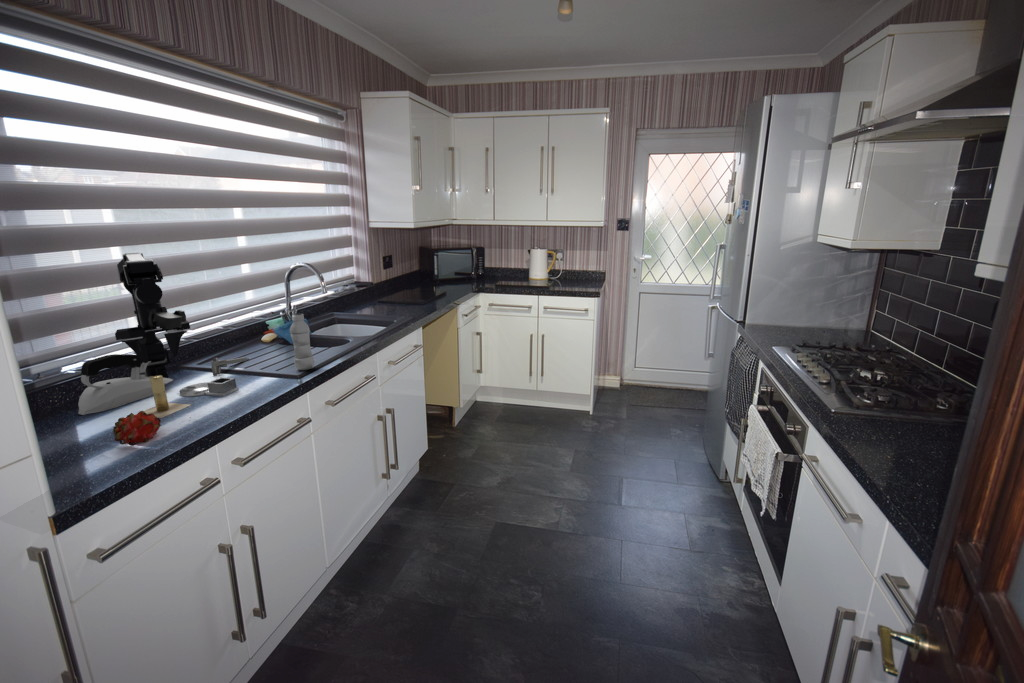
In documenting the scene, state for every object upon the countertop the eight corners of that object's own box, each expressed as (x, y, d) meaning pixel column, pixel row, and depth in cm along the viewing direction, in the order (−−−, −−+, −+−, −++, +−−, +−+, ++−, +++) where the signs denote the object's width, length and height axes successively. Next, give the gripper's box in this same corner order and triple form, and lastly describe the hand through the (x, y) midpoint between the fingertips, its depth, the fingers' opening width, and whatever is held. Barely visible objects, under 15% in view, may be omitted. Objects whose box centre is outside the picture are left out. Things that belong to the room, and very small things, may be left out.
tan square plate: (133, 417, 146) (133, 415, 146) (165, 404, 155) (164, 402, 155) (161, 419, 143) (161, 417, 143) (191, 406, 153) (191, 404, 152)
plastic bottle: (309, 372, 182) (301, 316, 176) (291, 372, 183) (283, 316, 178) (318, 367, 188) (311, 312, 183) (301, 366, 189) (294, 312, 184)
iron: (175, 390, 168) (166, 345, 164) (93, 418, 146) (80, 368, 142) (153, 387, 172) (144, 343, 168) (70, 414, 150) (57, 364, 146)
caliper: (216, 376, 181) (212, 359, 180) (213, 376, 181) (209, 359, 180) (249, 359, 201) (246, 344, 199) (246, 359, 201) (243, 344, 199)
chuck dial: (171, 396, 161) (168, 383, 160) (200, 384, 171) (198, 372, 170) (217, 400, 157) (215, 387, 156) (244, 387, 167) (242, 375, 166)
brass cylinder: (154, 411, 148) (147, 378, 146) (163, 407, 151) (156, 374, 148) (162, 412, 147) (155, 378, 145) (171, 408, 150) (164, 375, 148)
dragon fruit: (113, 459, 124) (160, 444, 136) (134, 441, 122) (179, 427, 134) (96, 429, 125) (143, 417, 137) (115, 411, 123) (162, 400, 134)
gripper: (139, 305, 134) (153, 364, 136) (199, 299, 152) (210, 351, 154) (107, 309, 137) (121, 367, 139) (169, 303, 155) (181, 354, 157)
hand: (161, 359), depth 147 cm, fingers open, 9 cm apart
